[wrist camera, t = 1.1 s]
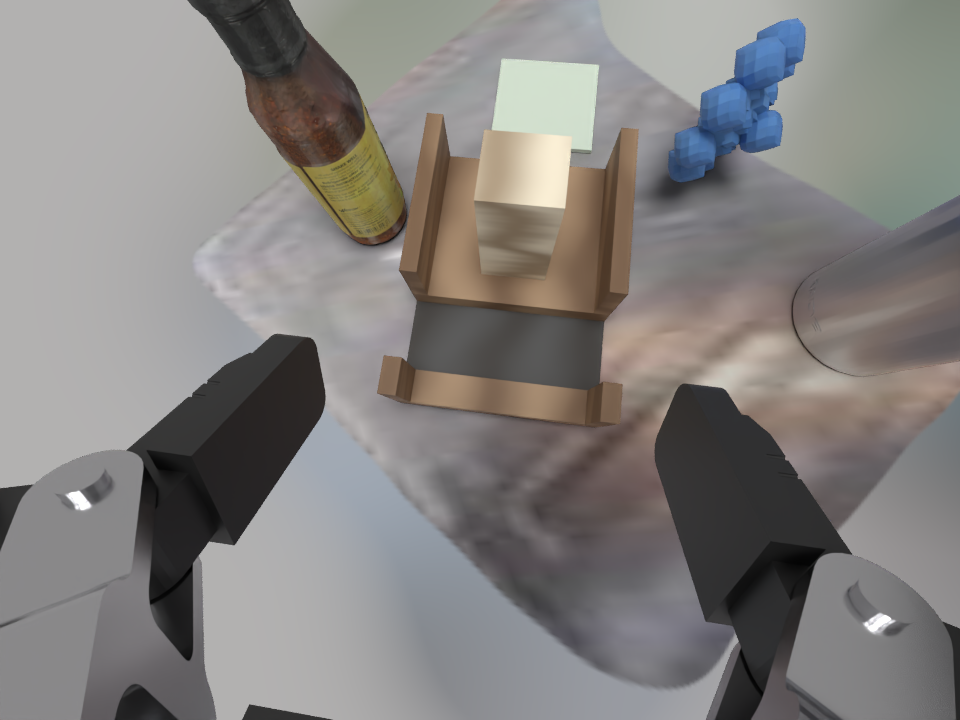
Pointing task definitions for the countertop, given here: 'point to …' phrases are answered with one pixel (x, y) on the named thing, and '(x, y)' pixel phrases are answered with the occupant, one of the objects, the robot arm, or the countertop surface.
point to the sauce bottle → (311, 115)
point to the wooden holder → (513, 297)
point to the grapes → (741, 104)
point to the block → (520, 201)
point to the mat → (547, 100)
